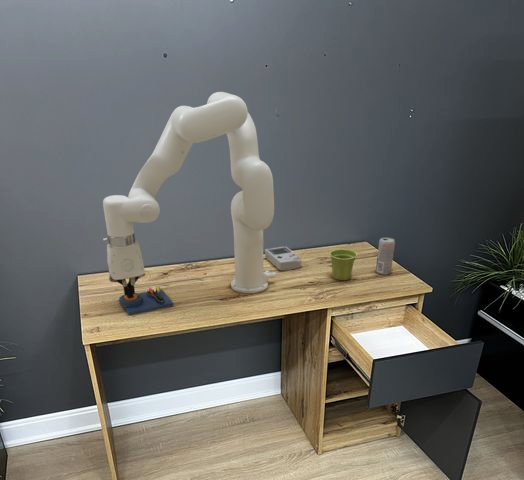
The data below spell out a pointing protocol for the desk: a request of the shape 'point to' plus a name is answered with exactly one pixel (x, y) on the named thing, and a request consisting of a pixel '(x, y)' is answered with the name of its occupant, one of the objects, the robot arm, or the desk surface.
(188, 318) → the desk surface
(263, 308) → the desk surface
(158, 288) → the composite cable
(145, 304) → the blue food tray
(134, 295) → the power button
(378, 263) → the energy drink
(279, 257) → the handheld gaming device
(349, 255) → the plant pot
